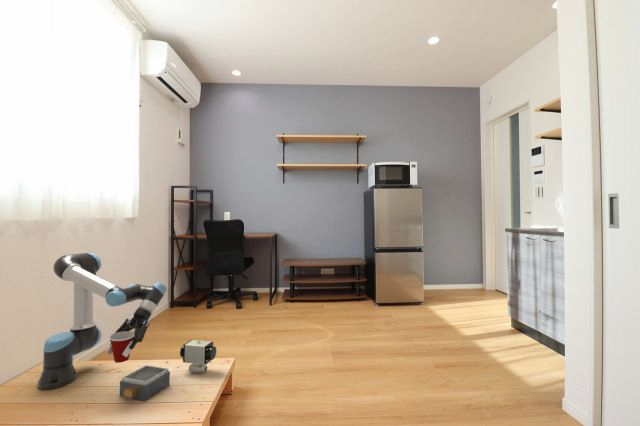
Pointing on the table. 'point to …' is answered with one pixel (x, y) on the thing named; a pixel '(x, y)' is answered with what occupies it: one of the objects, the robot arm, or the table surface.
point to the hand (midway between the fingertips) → (116, 354)
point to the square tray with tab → (144, 383)
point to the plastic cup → (120, 344)
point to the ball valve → (198, 355)
